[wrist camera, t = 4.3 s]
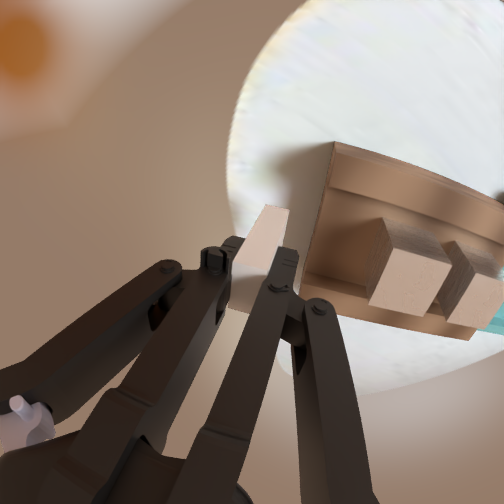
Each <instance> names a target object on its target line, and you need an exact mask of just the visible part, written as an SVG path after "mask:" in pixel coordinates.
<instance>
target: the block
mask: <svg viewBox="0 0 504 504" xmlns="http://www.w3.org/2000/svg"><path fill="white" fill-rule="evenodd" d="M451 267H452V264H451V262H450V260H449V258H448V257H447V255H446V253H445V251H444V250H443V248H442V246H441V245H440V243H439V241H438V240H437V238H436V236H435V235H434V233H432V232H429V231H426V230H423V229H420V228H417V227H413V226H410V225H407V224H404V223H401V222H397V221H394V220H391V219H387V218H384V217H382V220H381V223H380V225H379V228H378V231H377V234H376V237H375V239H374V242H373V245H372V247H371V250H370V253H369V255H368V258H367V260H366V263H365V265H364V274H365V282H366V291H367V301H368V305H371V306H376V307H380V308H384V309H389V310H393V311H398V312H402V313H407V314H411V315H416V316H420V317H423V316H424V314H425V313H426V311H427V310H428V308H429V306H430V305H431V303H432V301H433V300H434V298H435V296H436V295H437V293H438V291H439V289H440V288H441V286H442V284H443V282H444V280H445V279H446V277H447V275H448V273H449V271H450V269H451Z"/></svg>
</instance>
